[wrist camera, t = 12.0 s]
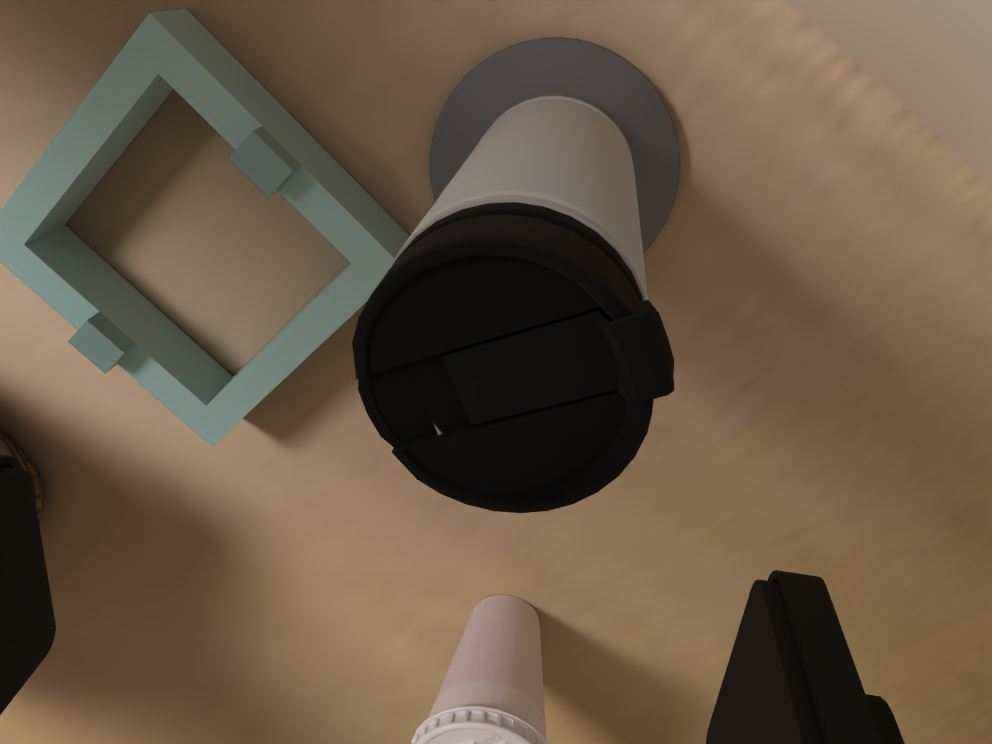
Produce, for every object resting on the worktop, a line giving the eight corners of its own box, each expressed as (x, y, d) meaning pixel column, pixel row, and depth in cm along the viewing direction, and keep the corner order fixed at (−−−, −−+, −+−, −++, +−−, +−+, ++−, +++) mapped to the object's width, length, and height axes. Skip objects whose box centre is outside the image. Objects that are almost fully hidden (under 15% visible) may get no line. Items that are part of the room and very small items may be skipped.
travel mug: (661, 217, 35) (714, 491, 17) (509, 267, 36) (409, 564, 18) (614, 63, 32) (618, 190, 15) (454, 124, 34) (280, 305, 16)
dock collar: (20, 222, 39) (-40, 248, 35) (185, 8, 34) (135, 14, 31) (237, 415, 42) (202, 457, 39) (418, 245, 37) (397, 275, 34)
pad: (383, 160, 36) (379, 164, 35) (562, -22, 32) (561, -22, 31) (545, 329, 38) (544, 334, 38) (730, 177, 34) (732, 180, 34)
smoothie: (466, 675, 48) (413, 930, 35) (429, 584, 45) (357, 824, 33) (579, 659, 46) (565, 920, 34) (546, 564, 44) (519, 808, 31)
